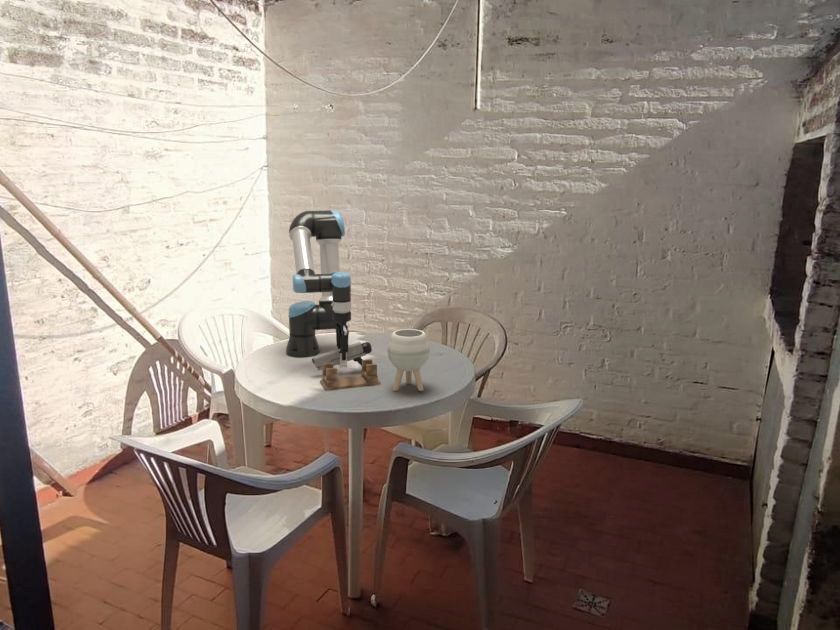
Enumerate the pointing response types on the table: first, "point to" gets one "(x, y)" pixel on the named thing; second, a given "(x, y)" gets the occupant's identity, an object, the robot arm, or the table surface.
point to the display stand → (365, 379)
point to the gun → (334, 356)
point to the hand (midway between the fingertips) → (342, 365)
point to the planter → (408, 355)
